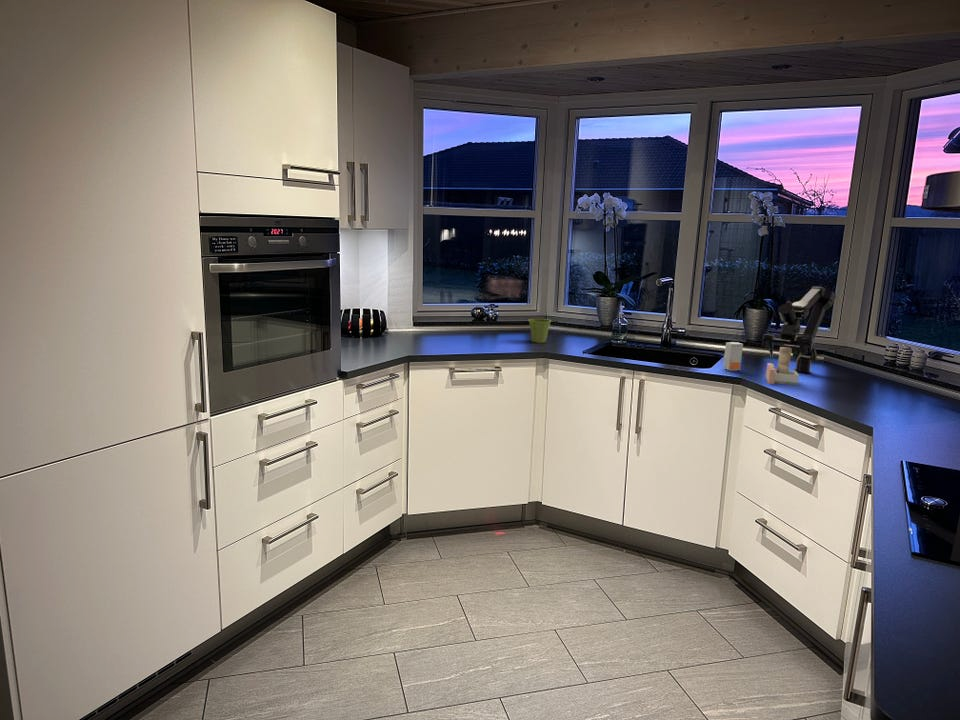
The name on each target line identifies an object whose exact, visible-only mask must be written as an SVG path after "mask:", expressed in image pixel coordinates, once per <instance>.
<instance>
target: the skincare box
mask: <svg viewBox="0 0 960 720" xmlns="http://www.w3.org/2000/svg"><path fill="white" fill-rule="evenodd" d="M743 348H744V343H740V342H738V341H737V342H736V341H735V342H734V341H730V342H727V341H726V342H725V348H724V356H723V363H722V364H723V365H722V369H723V370H725V369H727V370H726V371H728V370H729V371H738V370H739V371H740V370H741V363H742V357H743V356H742V355H743V350H744V349H743Z"/></svg>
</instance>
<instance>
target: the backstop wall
mask: <svg viewBox="0 0 960 720" xmlns="http://www.w3.org/2000/svg"><path fill="white" fill-rule="evenodd" d="M766 366H767V367H766V373H765V379H766V382H767V384H768V385H774V384H775V383H774V379H775V372H776V370H775V369H776V368H775V365H774V363H769V362H767V364H766Z"/></svg>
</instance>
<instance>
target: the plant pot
mask: <svg viewBox="0 0 960 720" xmlns="http://www.w3.org/2000/svg"><path fill="white" fill-rule="evenodd" d="M527 321H528V323H529V328H530V329H529V330H530V337H531V342H532V343H538V344H540V343H542V344H543V343H546V342H547V337H548V333H549V328H550V325H551V322H552V320H551V319H545V318H529V319H528V320H527Z"/></svg>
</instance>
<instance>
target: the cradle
mask: <svg viewBox="0 0 960 720" xmlns="http://www.w3.org/2000/svg"><path fill="white" fill-rule="evenodd" d="M775 370H776V372H775V379H774V384H780V385H781V384H782V385H790V386H798V385H799V379H800V376H799V372H796V371H794V370H789V373H788V374H782V373H777V368H775Z"/></svg>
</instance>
